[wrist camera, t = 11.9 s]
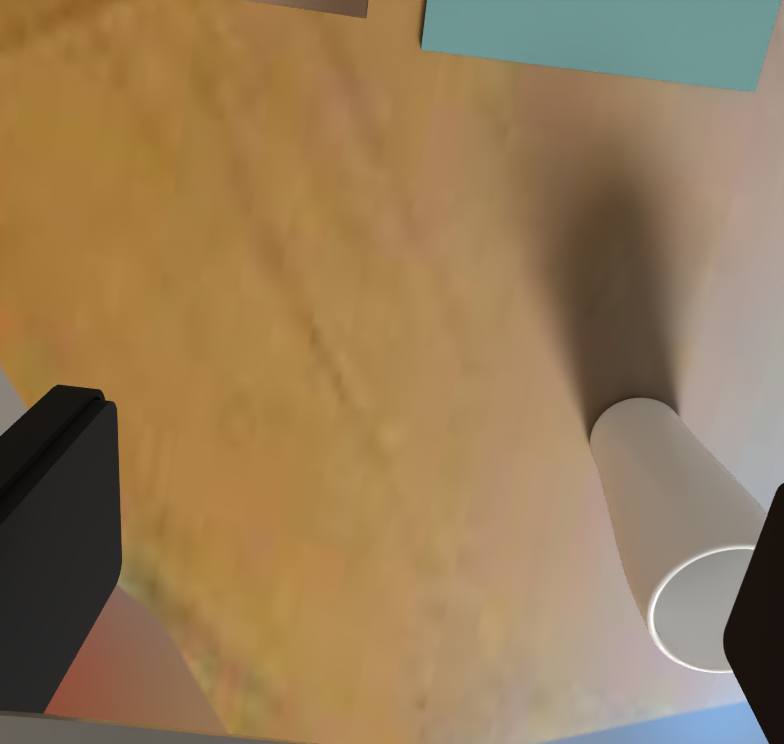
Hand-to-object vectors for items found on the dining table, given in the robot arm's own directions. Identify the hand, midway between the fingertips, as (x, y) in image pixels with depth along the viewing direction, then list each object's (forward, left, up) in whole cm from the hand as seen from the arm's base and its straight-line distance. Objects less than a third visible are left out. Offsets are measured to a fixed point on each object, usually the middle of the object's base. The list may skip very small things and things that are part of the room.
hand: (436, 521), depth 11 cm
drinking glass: (-14, +13, -31) cm, 36 cm away
